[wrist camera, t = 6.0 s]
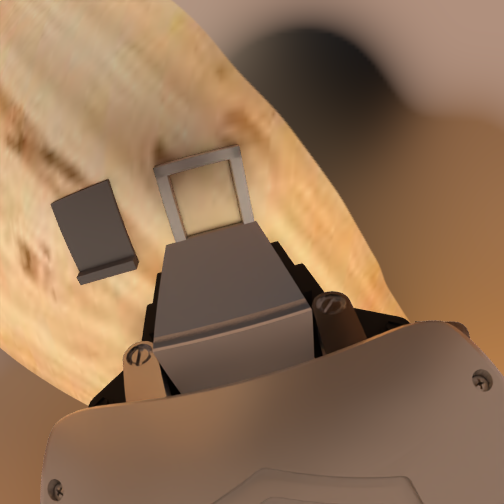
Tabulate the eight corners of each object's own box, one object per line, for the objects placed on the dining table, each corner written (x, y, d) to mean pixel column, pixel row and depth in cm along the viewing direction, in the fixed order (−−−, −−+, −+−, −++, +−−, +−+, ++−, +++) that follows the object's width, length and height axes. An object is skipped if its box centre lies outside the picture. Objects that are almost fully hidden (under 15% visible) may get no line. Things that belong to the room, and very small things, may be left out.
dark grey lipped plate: (52, 203, 21) (45, 207, 20) (108, 179, 22) (103, 182, 21) (84, 277, 26) (80, 285, 24) (138, 261, 26) (136, 269, 25)
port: (133, 173, 22) (112, 191, 16) (259, 139, 23) (284, 146, 17) (173, 287, 28) (171, 331, 22) (280, 258, 30) (303, 295, 24)
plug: (166, 245, 11) (152, 351, 6) (256, 221, 12) (312, 309, 6) (199, 328, 14) (211, 432, 8) (272, 309, 14) (314, 404, 9)
